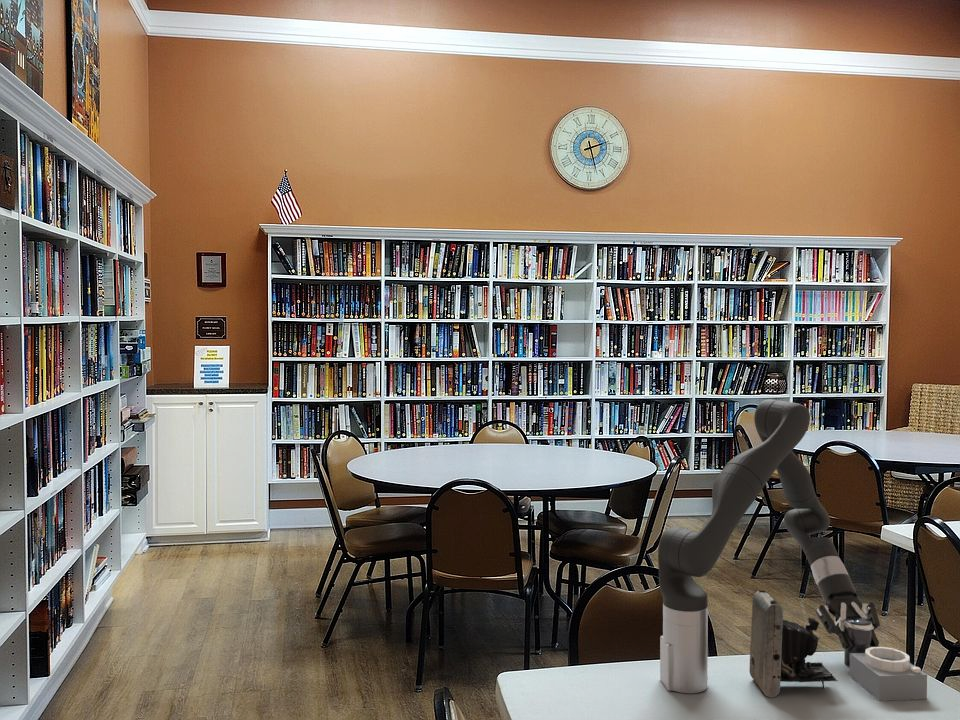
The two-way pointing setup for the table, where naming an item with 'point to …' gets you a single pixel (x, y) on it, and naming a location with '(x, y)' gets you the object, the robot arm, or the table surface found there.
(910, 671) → the grey base with ring
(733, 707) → the table surface
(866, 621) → the lens
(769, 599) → the vintage camera
